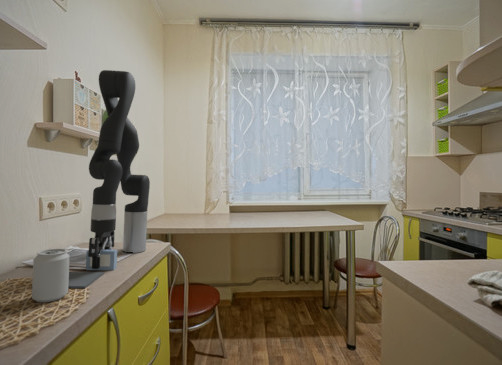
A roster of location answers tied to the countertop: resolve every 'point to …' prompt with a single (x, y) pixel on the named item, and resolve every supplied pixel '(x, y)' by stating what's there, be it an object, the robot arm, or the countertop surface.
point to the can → (50, 275)
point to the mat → (82, 279)
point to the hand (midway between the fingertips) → (101, 264)
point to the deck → (104, 260)
